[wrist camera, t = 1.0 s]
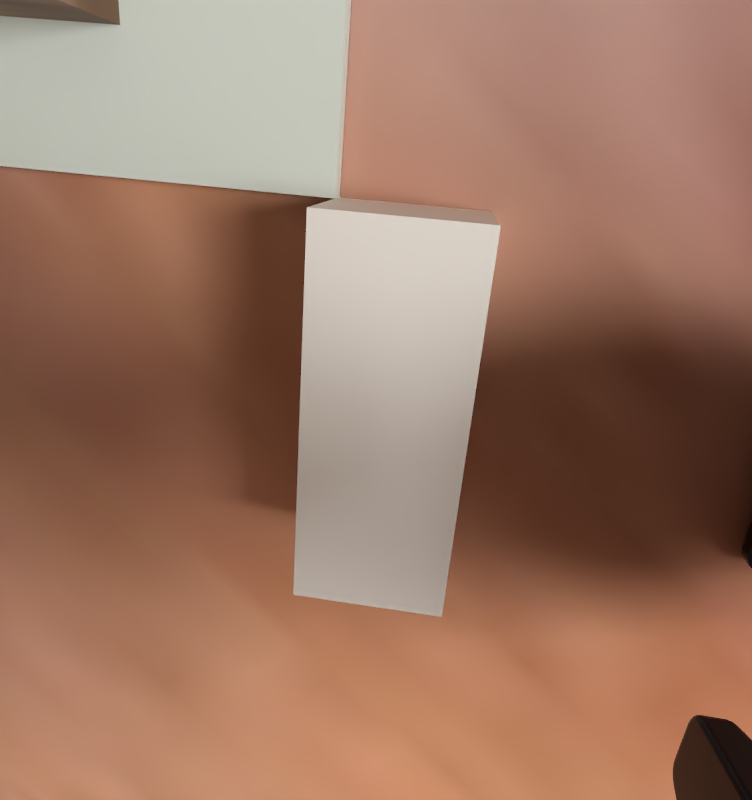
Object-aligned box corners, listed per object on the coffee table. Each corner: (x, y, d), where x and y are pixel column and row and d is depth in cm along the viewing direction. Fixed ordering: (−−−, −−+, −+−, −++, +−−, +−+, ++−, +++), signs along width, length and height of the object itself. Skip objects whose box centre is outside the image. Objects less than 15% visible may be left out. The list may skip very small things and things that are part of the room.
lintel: (490, 210, 16) (500, 225, 12) (444, 531, 20) (442, 616, 16) (340, 196, 16) (306, 207, 13) (323, 514, 20) (293, 594, 16)
